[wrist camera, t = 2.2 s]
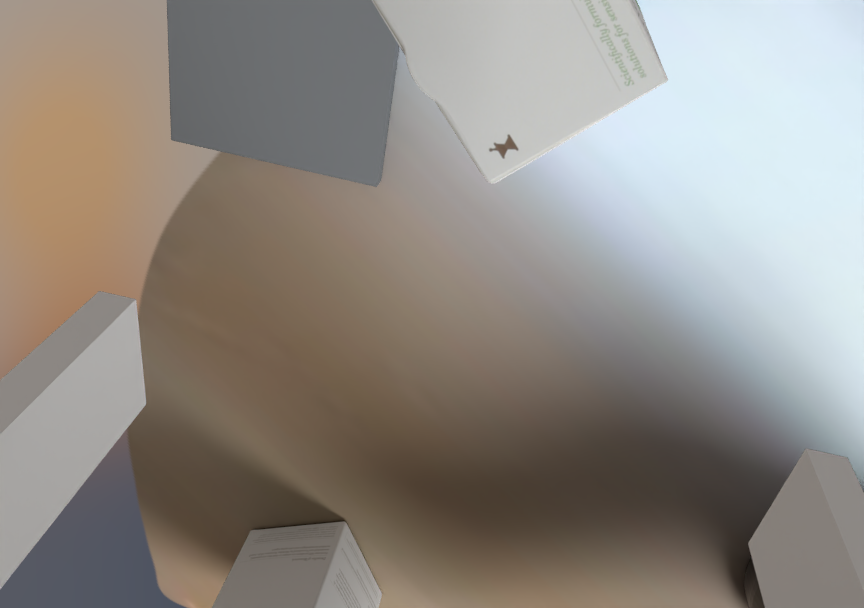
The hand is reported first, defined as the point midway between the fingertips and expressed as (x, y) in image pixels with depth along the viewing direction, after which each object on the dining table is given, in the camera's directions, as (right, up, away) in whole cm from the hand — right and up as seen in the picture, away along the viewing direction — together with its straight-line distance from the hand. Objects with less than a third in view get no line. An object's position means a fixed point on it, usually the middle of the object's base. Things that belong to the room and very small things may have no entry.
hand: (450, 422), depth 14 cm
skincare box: (+5, +18, +19) cm, 27 cm away
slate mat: (-8, +16, +23) cm, 29 cm away
